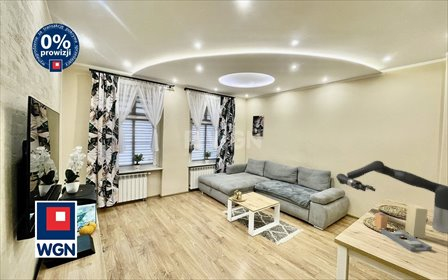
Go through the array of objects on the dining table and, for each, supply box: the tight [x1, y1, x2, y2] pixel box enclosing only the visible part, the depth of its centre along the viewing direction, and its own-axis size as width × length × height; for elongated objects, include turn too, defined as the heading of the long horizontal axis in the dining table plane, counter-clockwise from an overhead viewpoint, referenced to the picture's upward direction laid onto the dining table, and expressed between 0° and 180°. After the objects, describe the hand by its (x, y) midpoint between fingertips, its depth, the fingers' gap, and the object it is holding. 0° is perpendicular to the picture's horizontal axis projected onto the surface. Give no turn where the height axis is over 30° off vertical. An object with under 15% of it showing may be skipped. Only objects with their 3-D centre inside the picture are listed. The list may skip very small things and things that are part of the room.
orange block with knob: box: [374, 211, 389, 230], centre depth 139 cm, size 5×5×11 cm
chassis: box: [380, 228, 433, 252], centre depth 123 cm, size 20×14×2 cm
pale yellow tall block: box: [404, 203, 428, 239], centre depth 130 cm, size 8×7×21 cm
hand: (370, 190), depth 149 cm, fingers open, 8 cm apart
